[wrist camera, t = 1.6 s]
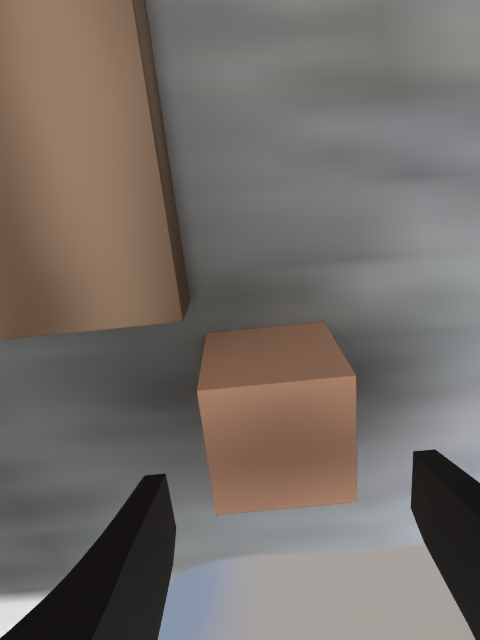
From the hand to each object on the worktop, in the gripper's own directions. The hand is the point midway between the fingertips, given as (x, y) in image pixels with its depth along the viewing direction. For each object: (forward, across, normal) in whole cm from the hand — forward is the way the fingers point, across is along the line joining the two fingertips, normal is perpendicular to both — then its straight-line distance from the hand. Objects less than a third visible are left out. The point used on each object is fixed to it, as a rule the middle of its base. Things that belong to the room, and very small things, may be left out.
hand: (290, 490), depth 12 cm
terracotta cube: (+7, 0, 0) cm, 7 cm away
